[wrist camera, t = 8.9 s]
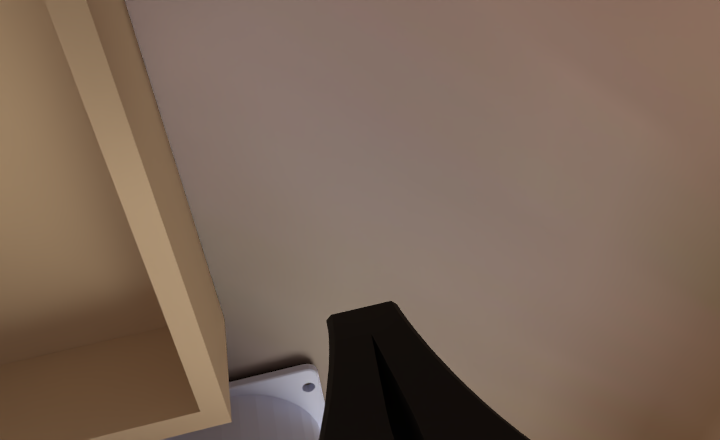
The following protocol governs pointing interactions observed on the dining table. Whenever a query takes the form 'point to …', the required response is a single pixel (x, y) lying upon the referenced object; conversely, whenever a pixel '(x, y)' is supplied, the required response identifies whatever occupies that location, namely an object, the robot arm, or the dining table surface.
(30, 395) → the mailer box
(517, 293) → the dining table surface
